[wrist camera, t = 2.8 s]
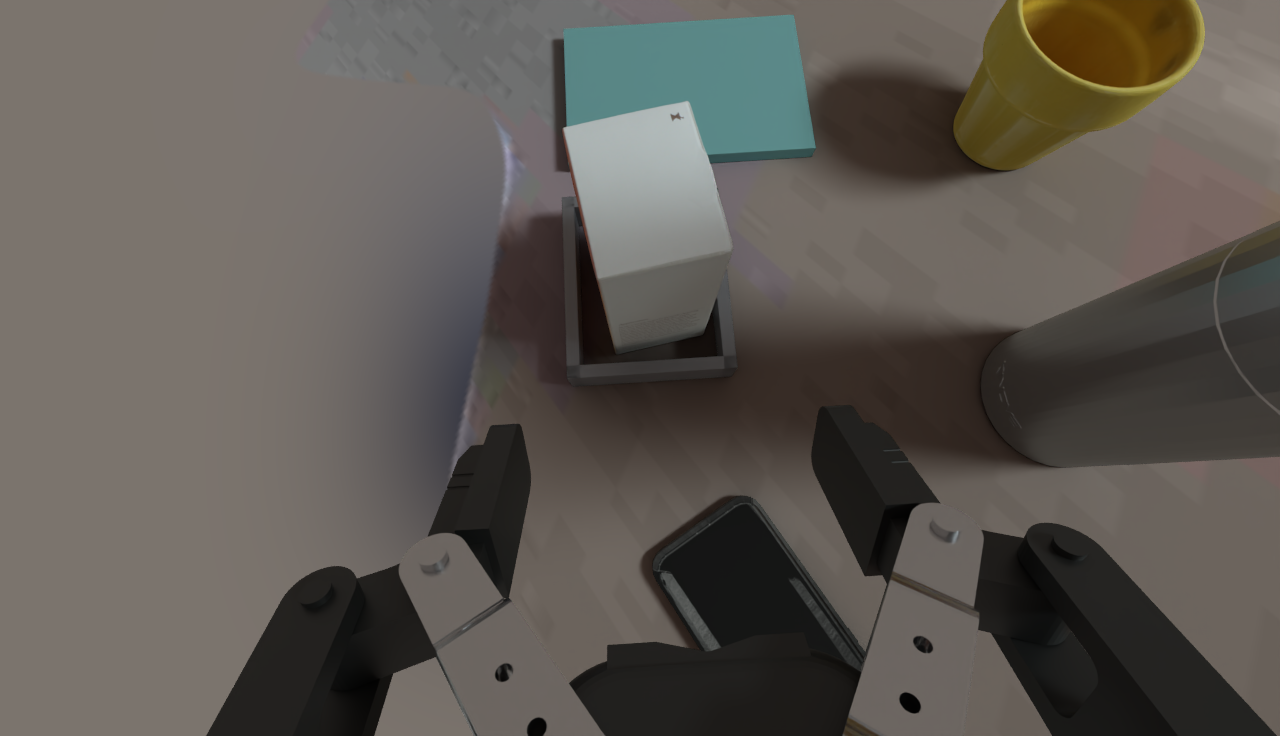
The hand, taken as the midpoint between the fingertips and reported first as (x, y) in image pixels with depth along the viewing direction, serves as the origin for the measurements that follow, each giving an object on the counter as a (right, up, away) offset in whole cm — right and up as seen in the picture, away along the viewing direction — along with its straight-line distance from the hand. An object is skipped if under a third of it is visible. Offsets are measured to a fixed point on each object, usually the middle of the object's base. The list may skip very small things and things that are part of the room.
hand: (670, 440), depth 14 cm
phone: (+7, -14, +17) cm, 23 cm away
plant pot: (+26, +20, +24) cm, 41 cm away
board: (+3, +23, +25) cm, 34 cm away
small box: (0, +7, +22) cm, 23 cm away
